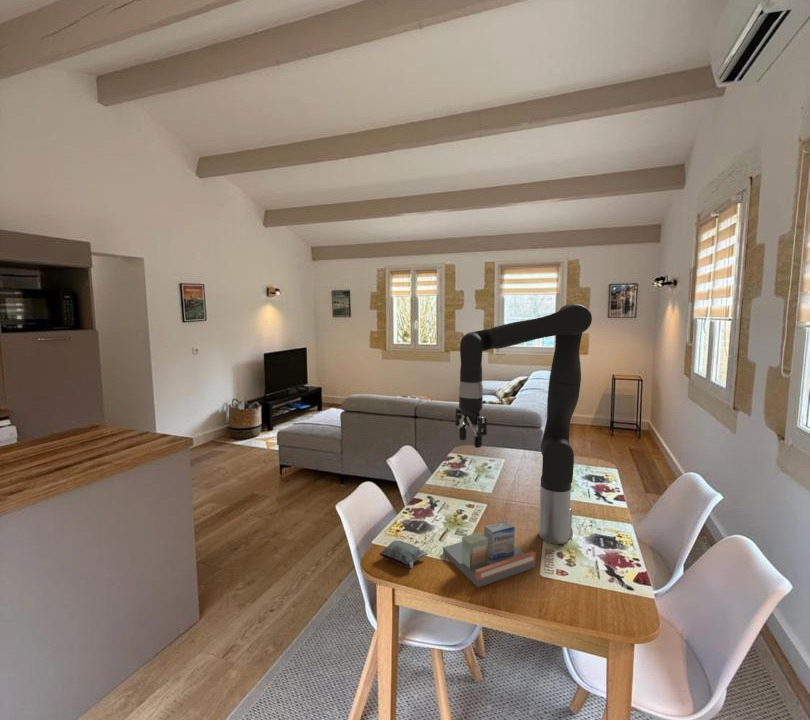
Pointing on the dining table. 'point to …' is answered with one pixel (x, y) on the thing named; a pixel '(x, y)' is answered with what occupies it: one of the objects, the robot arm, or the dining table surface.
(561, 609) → the dining table surface
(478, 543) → the sage tin
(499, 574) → the shelf
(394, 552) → the grey bean bag
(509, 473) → the dining table surface
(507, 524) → the medicine box
